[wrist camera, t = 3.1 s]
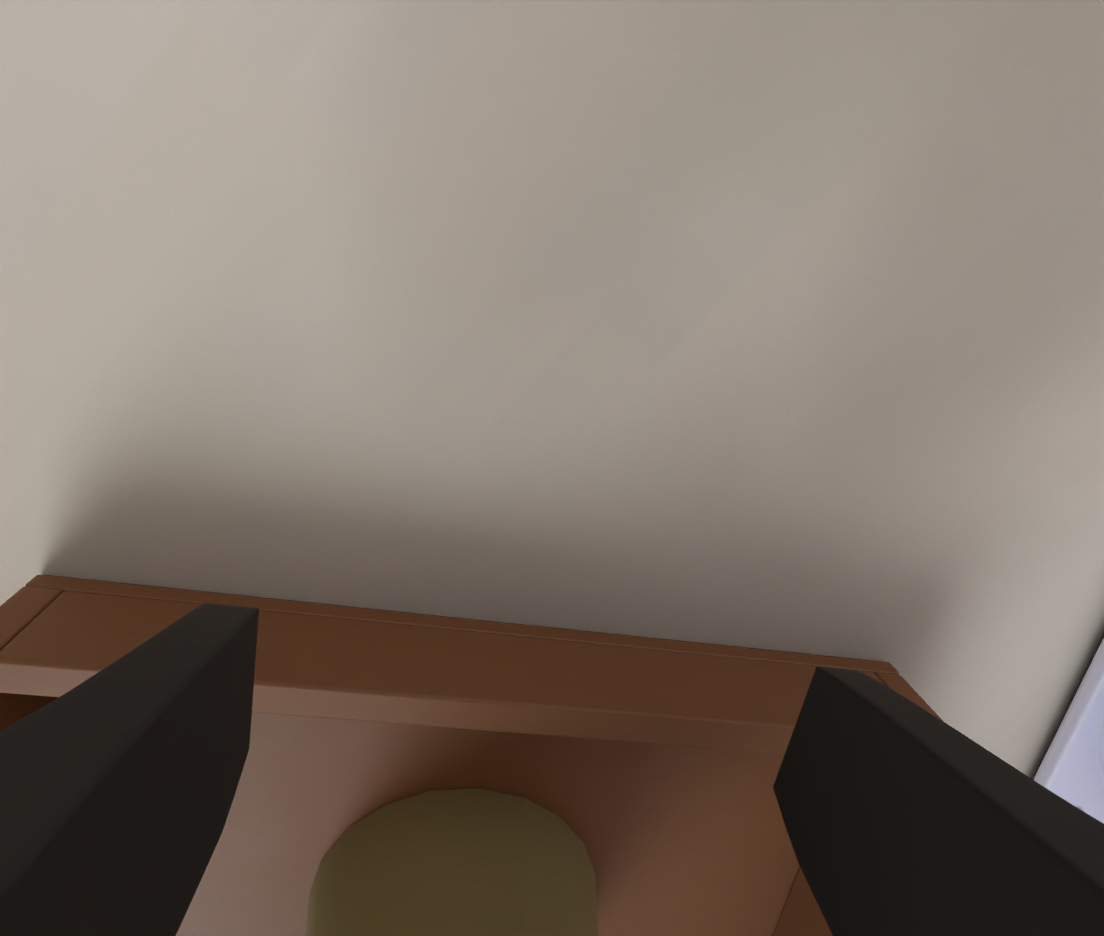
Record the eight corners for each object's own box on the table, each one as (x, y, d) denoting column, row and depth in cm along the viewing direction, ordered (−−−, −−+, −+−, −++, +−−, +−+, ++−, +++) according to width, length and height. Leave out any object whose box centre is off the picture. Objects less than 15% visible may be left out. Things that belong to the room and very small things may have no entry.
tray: (889, 661, 15) (964, 741, 13) (724, 1082, 19) (759, 1198, 17) (37, 573, 12) (-60, 654, 10) (59, 1085, 16) (-5, 1224, 14)
